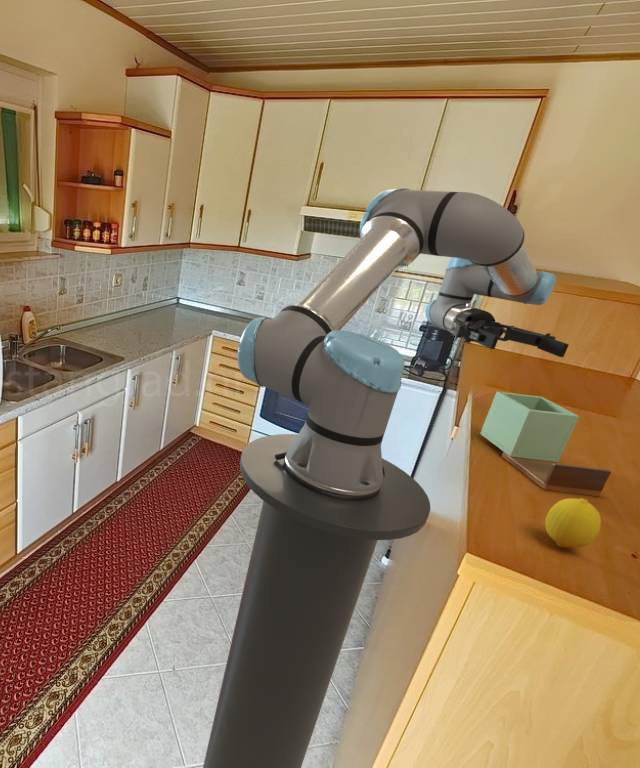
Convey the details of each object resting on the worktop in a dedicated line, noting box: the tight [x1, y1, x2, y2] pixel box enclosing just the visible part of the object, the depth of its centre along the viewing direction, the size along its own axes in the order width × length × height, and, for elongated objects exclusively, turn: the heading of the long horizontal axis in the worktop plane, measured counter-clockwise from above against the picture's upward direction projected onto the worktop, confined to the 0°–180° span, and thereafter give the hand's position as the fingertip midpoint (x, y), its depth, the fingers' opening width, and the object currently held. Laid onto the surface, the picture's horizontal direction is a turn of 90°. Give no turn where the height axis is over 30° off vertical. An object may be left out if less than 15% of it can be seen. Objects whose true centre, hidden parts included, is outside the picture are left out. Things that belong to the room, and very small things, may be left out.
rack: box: [501, 451, 612, 497], centre depth 90 cm, size 12×9×5 cm
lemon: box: [544, 497, 602, 549], centre depth 68 cm, size 6×6×8 cm
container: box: [479, 391, 580, 463], centre depth 97 cm, size 10×9×10 cm
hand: (529, 346), depth 98 cm, fingers open, 13 cm apart
